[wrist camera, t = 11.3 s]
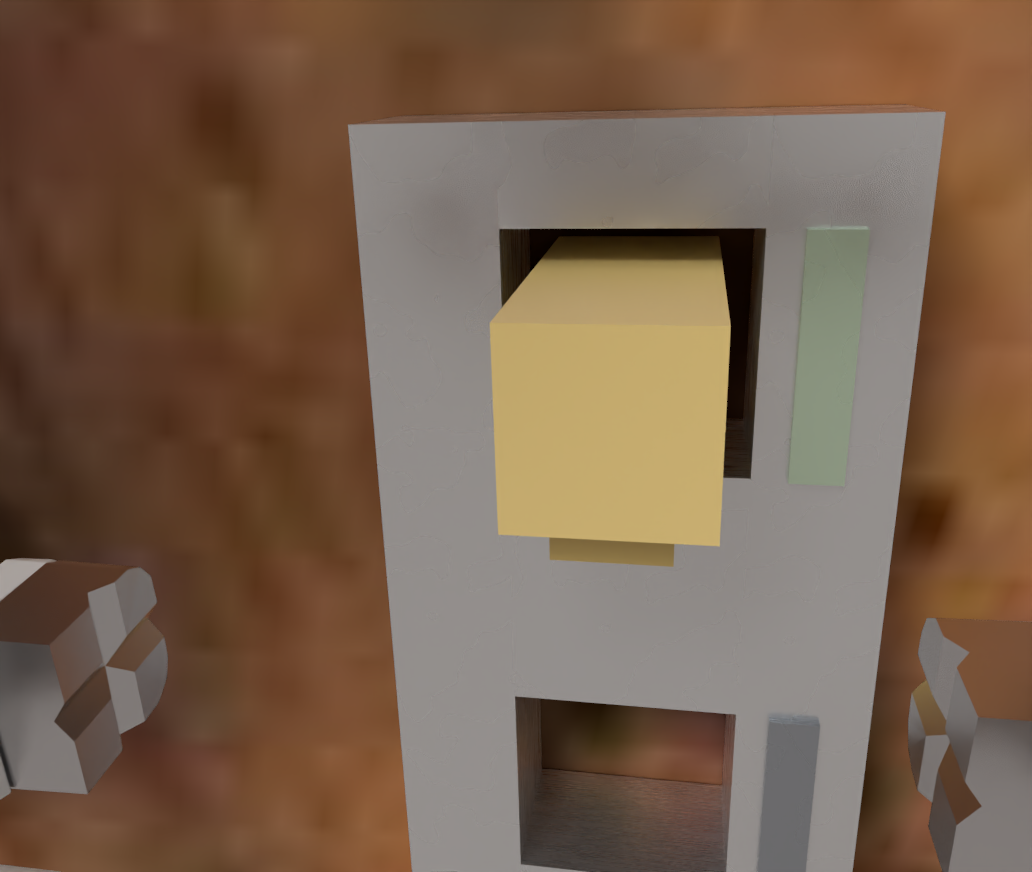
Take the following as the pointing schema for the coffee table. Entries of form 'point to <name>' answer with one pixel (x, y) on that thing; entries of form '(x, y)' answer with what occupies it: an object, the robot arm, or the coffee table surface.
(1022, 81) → the coffee table surface
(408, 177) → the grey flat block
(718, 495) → the plug
